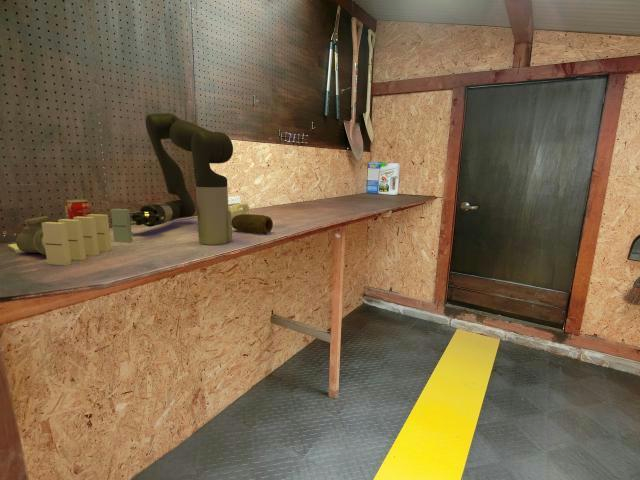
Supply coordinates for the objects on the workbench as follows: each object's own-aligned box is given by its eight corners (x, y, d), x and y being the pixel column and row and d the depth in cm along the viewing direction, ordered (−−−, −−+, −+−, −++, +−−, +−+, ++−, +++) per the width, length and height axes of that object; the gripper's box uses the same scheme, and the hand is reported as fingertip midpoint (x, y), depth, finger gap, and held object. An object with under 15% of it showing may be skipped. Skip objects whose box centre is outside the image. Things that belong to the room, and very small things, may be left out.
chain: (241, 215, 167) (241, 202, 166) (252, 216, 165) (252, 203, 164) (197, 225, 140) (196, 210, 139) (210, 227, 138) (209, 211, 136)
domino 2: (68, 257, 92) (63, 219, 90) (86, 258, 91) (81, 219, 89) (63, 259, 90) (57, 220, 88) (80, 260, 90) (75, 220, 87)
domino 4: (95, 249, 101) (91, 214, 98) (111, 250, 100) (107, 214, 98) (91, 250, 99) (86, 214, 97) (107, 251, 98) (103, 215, 96)
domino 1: (53, 262, 88) (47, 221, 85) (71, 263, 87) (66, 222, 85) (47, 264, 86) (41, 223, 84) (65, 265, 85) (59, 223, 83)
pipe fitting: (76, 250, 97) (65, 213, 94) (45, 260, 89) (32, 220, 87) (47, 251, 101) (36, 215, 99) (16, 260, 94) (2, 222, 91)
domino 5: (117, 240, 112) (114, 208, 110) (132, 241, 111) (129, 209, 109) (114, 241, 110) (110, 209, 108) (128, 242, 110) (125, 210, 107)
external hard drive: (7, 250, 101) (59, 242, 110) (16, 254, 96) (69, 246, 105) (6, 244, 100) (59, 237, 110) (15, 249, 95) (68, 241, 105)
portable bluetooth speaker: (275, 232, 129) (275, 214, 128) (265, 236, 123) (264, 216, 121) (240, 229, 135) (240, 211, 133) (229, 232, 128) (228, 213, 127)
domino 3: (82, 253, 96) (78, 216, 94) (99, 254, 95) (95, 217, 93) (77, 254, 95) (73, 217, 93) (94, 255, 94) (90, 218, 92)
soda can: (66, 237, 114) (60, 200, 112) (91, 234, 119) (86, 198, 117) (72, 241, 110) (66, 202, 107) (98, 238, 115) (93, 200, 112)
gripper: (137, 202, 127) (102, 208, 111) (174, 204, 125) (144, 210, 109) (139, 223, 128) (105, 232, 113) (175, 225, 126) (146, 234, 111)
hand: (124, 221), depth 111 cm, fingers open, 8 cm apart
